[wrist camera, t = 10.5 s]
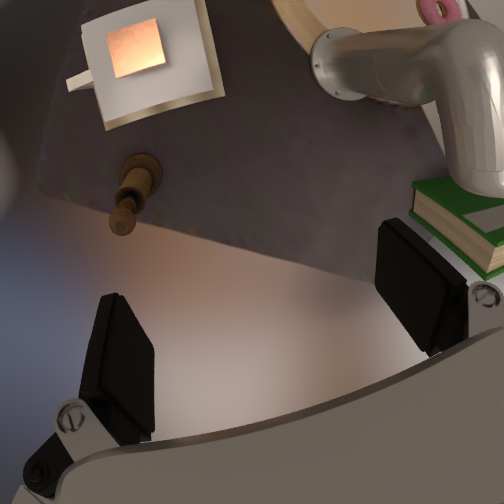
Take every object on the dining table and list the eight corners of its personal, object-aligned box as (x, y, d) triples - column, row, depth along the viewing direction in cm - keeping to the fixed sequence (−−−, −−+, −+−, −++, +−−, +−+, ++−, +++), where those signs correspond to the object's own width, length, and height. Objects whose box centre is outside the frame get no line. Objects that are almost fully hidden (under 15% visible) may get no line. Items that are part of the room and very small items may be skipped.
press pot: (189, 18, 32) (191, -10, 20) (205, 86, 39) (213, 89, 26) (90, 49, 31) (49, 40, 19) (107, 116, 38) (73, 135, 25)
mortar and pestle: (118, 157, 42) (84, 203, 27) (159, 150, 43) (144, 192, 28) (125, 196, 46) (100, 258, 31) (164, 190, 47) (156, 250, 32)
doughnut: (415, -25, 31) (429, -28, 28) (453, 4, 34) (468, 3, 31) (407, 18, 37) (422, 16, 33) (447, 44, 40) (461, 45, 36)
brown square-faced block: (182, 25, 32) (178, -13, 16) (194, 80, 36) (199, 80, 21) (121, 43, 31) (76, 22, 16) (134, 97, 36) (97, 112, 20)
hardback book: (408, 214, 59) (485, 281, 39) (412, 182, 55) (497, 242, 35) (461, 203, 60) (532, 256, 41) (466, 174, 56) (543, 224, 37)
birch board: (203, -2, 32) (203, -3, 31) (224, 95, 41) (225, 95, 40) (83, 35, 31) (81, 34, 30) (107, 129, 39) (106, 130, 39)
